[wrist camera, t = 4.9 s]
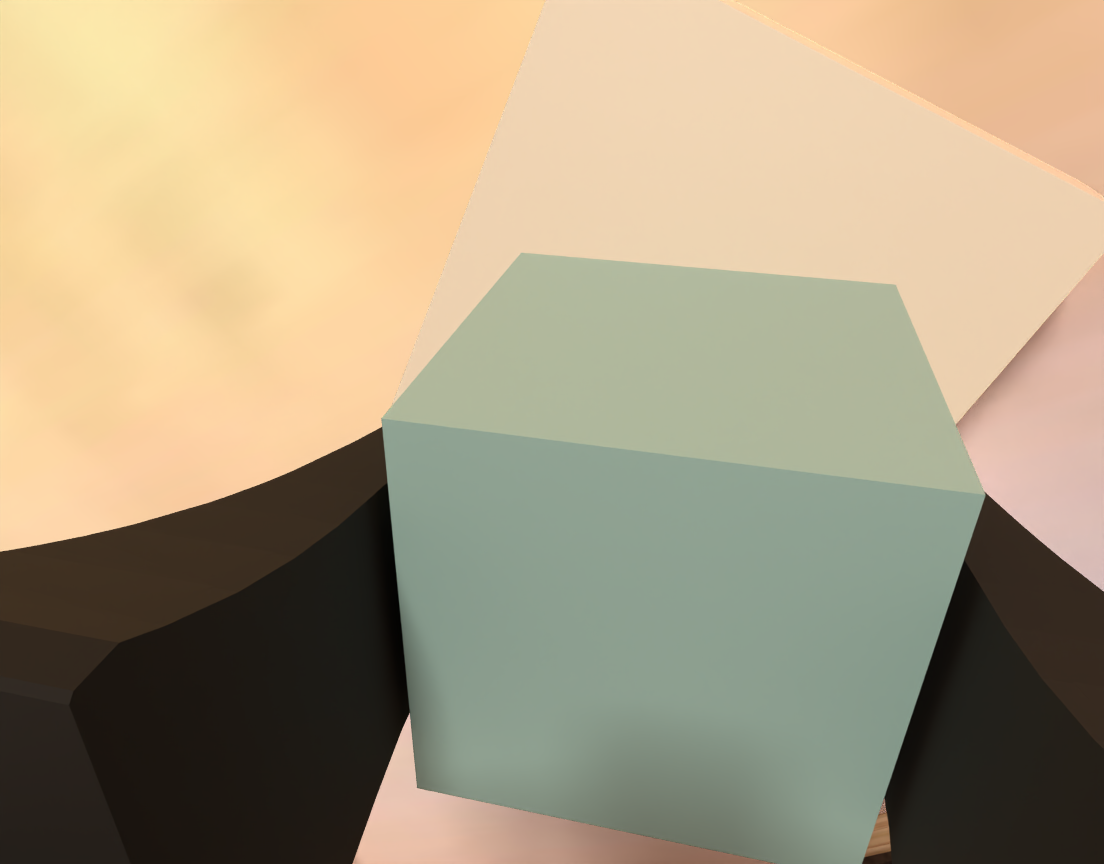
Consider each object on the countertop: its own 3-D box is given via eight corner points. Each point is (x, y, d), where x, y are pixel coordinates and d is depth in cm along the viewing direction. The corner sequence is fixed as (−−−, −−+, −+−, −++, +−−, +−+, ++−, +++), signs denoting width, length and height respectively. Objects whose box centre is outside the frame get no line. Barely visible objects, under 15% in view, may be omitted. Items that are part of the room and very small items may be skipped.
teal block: (895, 284, 11) (986, 495, 6) (825, 584, 13) (856, 880, 9) (521, 253, 12) (381, 417, 7) (521, 539, 14) (417, 787, 10)
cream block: (1074, 177, 16) (1134, 217, 13) (787, 536, 21) (790, 616, 18) (606, -69, 15) (574, -76, 13) (434, 359, 21) (388, 414, 18)
